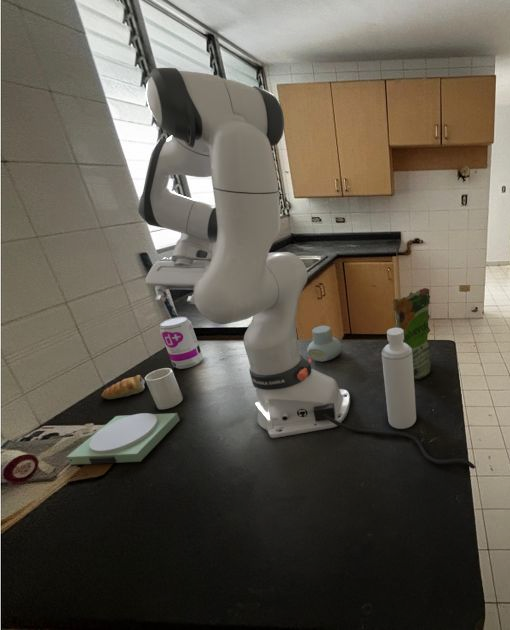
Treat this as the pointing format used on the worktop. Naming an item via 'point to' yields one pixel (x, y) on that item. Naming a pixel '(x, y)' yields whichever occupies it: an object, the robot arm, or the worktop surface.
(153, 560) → the worktop surface
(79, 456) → the scale
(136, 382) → the pastry
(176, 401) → the cup
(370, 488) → the worktop surface
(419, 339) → the pouch
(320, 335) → the air freshener
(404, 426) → the white bottle
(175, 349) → the supplement can
